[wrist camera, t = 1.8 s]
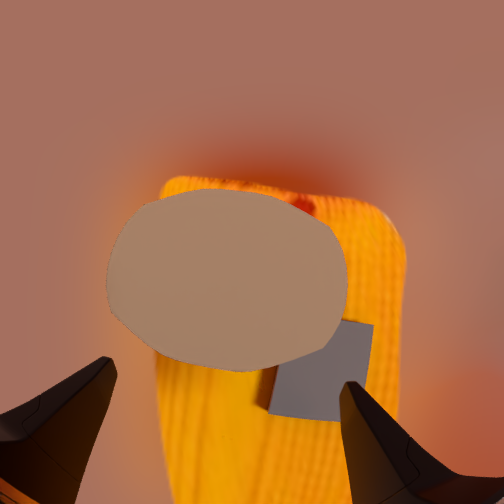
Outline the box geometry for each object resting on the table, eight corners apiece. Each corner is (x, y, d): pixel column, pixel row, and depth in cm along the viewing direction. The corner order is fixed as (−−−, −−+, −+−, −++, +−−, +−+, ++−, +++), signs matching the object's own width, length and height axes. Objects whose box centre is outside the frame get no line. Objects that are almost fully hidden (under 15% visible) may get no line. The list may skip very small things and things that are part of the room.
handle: (205, 300, 22) (138, 183, 8) (284, 311, 21) (346, 206, 8) (194, 358, 20) (89, 335, 6) (277, 371, 19) (340, 381, 6)
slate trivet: (351, 420, 17) (357, 422, 16) (267, 411, 18) (268, 413, 17) (367, 327, 21) (373, 325, 20) (287, 314, 21) (289, 311, 20)
